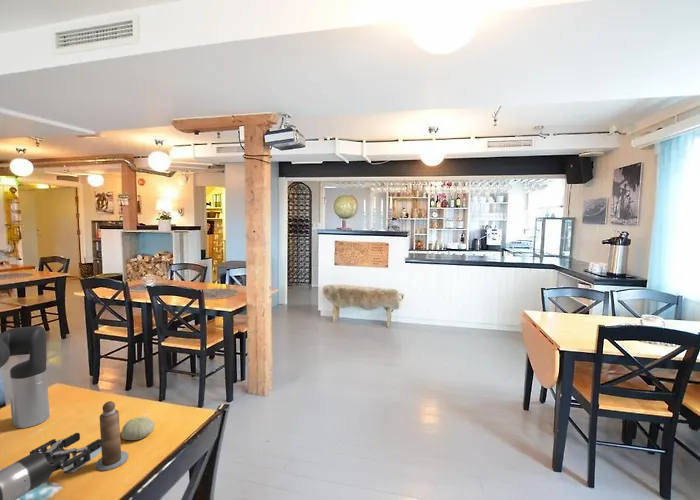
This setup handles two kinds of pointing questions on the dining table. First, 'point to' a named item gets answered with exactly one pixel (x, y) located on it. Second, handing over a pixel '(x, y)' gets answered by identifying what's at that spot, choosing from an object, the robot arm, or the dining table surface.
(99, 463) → the gray pad
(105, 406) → the pepper mill
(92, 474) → the dining table surface
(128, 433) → the sea urchin shell
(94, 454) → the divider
